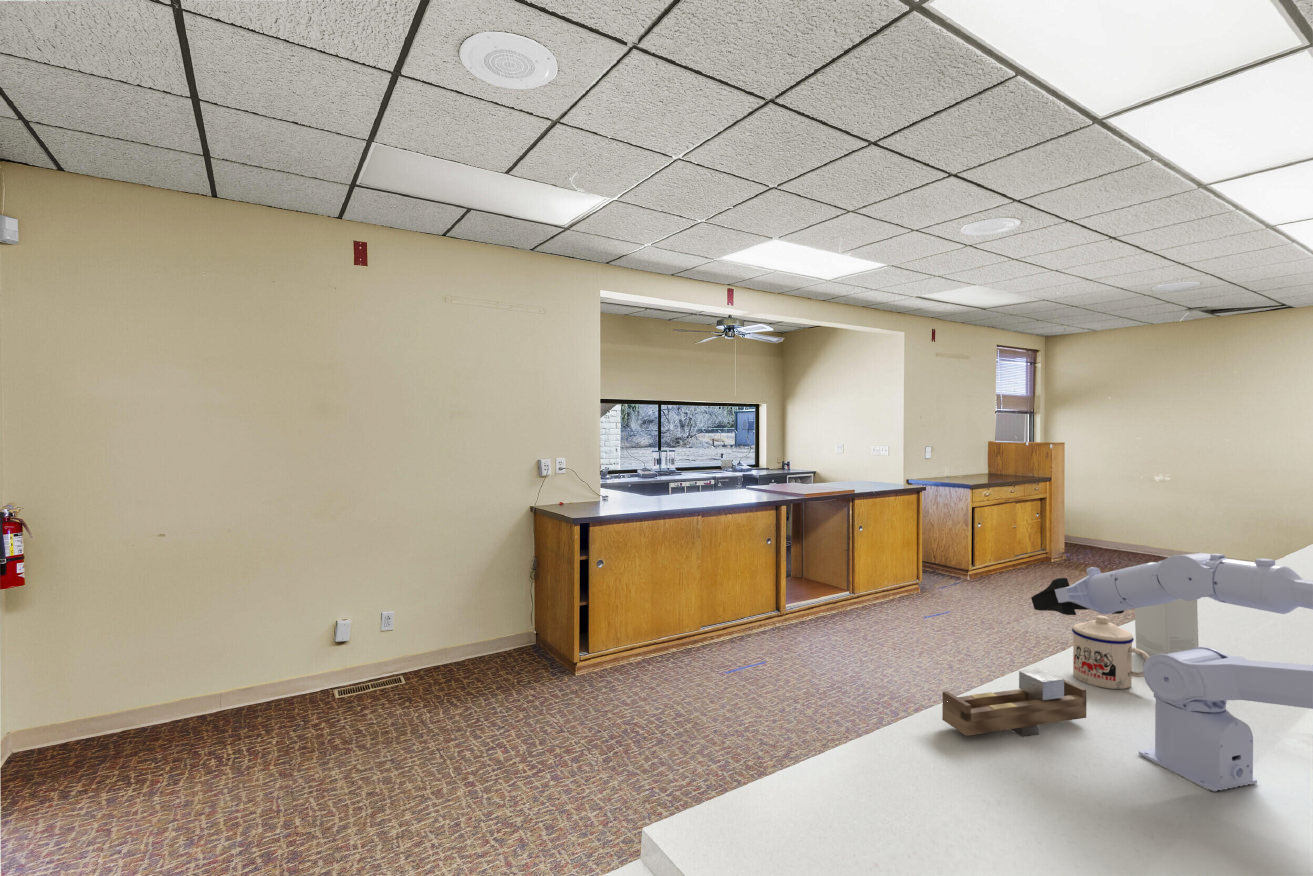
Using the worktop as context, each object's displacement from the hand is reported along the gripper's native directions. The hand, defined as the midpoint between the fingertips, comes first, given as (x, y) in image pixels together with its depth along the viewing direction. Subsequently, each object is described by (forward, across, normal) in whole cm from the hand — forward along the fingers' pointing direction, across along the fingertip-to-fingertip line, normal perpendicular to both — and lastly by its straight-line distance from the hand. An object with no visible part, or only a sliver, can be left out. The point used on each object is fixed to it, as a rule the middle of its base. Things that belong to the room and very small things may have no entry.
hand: (1052, 603), depth 102 cm
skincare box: (+14, -40, +10) cm, 43 cm away
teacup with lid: (+9, -19, +13) cm, 25 cm away
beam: (+3, +12, +18) cm, 22 cm away
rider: (+1, +7, +15) cm, 16 cm away
